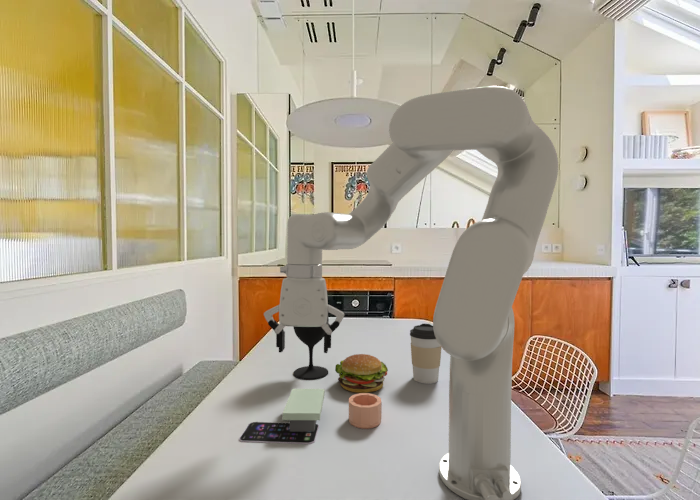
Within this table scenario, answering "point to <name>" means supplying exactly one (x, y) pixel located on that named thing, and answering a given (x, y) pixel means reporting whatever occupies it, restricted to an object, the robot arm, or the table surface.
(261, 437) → the smartphone
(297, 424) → the tall grey rectangular block
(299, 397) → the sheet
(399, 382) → the table surface
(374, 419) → the ramekin
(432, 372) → the coffee cup
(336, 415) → the table surface
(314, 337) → the wine glass
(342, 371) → the food
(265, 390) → the table surface
